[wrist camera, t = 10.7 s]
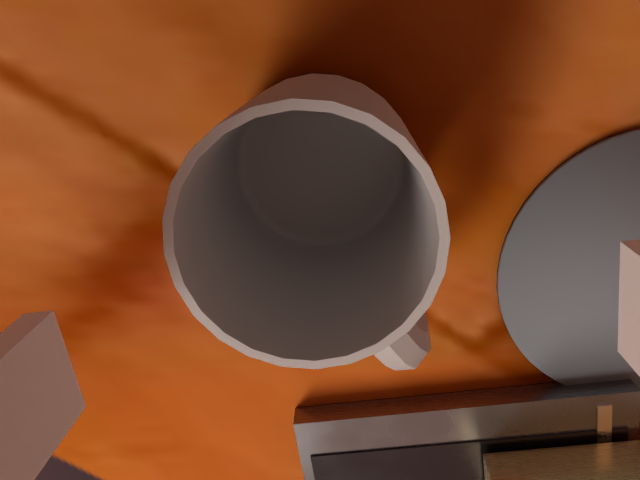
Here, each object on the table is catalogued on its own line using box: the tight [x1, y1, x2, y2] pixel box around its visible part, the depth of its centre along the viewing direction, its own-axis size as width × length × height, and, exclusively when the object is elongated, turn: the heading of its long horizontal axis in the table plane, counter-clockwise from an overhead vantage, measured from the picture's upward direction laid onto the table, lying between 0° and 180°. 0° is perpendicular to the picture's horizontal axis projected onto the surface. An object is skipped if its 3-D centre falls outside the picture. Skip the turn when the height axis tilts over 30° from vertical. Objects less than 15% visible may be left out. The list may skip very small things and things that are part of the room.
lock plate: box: [293, 379, 640, 480], centre depth 26 cm, size 7×15×1 cm, turn 99°
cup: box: [162, 73, 450, 370], centre depth 19 cm, size 7×10×9 cm
